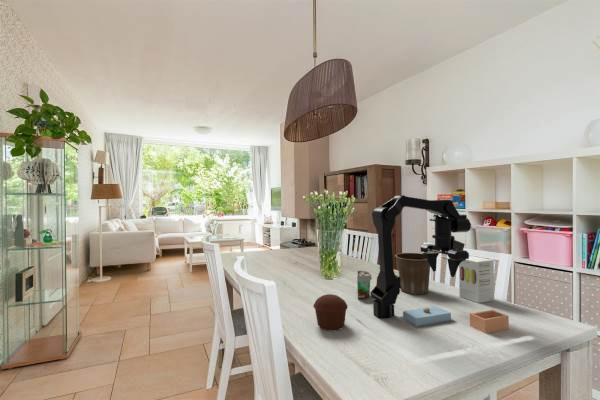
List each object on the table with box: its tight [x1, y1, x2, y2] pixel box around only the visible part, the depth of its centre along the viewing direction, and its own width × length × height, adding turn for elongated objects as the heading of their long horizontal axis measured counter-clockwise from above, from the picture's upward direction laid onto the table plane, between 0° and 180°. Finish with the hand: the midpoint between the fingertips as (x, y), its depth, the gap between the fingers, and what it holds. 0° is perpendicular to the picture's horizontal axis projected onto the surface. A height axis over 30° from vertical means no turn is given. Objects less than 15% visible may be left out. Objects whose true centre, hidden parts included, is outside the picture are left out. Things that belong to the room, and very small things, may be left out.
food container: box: [356, 270, 373, 300], centre depth 133 cm, size 12×6×10 cm, turn 168°
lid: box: [402, 305, 452, 326], centre depth 104 cm, size 14×7×4 cm, turn 107°
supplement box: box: [458, 255, 495, 304], centre depth 127 cm, size 10×9×17 cm
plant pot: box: [394, 252, 431, 295], centre depth 139 cm, size 16×16×16 cm
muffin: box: [313, 293, 348, 331], centre depth 103 cm, size 12×11×10 cm
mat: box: [398, 315, 457, 329], centre depth 104 cm, size 16×10×1 cm, turn 107°
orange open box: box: [469, 309, 510, 334], centre depth 97 cm, size 10×6×5 cm, turn 107°
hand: (443, 274), depth 114 cm, fingers open, 9 cm apart
